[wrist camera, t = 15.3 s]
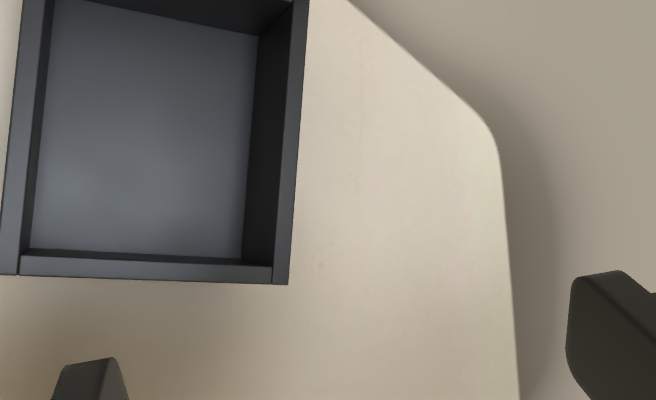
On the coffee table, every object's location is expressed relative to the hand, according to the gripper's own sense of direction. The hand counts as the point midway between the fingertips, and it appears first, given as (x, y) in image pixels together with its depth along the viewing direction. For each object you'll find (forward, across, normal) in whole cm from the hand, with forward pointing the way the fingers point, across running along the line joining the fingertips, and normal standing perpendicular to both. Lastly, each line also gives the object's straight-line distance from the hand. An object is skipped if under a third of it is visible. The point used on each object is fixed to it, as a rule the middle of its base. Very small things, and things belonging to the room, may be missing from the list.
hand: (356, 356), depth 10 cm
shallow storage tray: (+22, +6, +2) cm, 23 cm away
